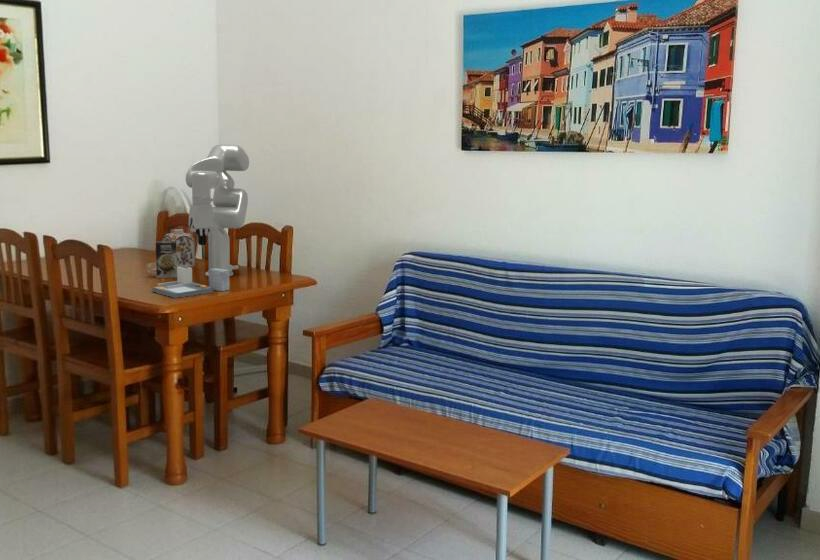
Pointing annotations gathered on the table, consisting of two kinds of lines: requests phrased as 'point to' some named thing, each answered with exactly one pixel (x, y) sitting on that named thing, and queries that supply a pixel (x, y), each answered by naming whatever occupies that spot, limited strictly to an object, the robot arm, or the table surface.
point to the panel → (181, 289)
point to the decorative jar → (183, 247)
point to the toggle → (184, 274)
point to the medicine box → (219, 279)
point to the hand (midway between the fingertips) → (202, 244)
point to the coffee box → (166, 259)
